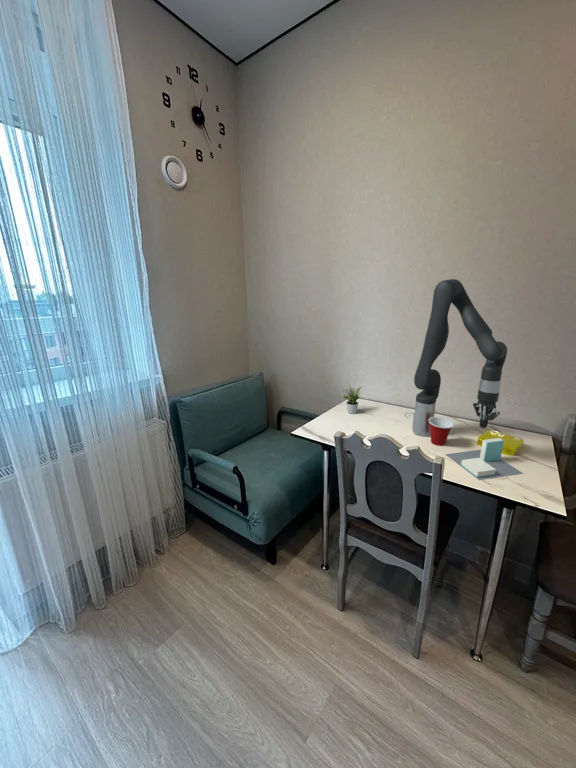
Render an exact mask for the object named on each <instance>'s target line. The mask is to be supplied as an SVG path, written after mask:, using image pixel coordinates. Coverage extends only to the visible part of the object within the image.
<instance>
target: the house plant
mask: <svg viewBox="0 0 576 768" xmlns="http://www.w3.org/2000/svg"><path fill="white" fill-rule="evenodd" d="M362 388H363V386H361V387H359V388H356V389H355V388H354V387H353V388H352V387H351V386H349V388H347V389H345V388H343V391H345V393H347V394H344V393H340V395H341V396H343V397H341V400H343V399H345V400H347V401H346V409H347V414H348V415H356V414H357V412H358V407H359V402H358V401H357V400H359V399H361V400H363V398H360V394H361V391H362Z"/></svg>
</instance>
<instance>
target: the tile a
mask: <svg viewBox="0 0 576 768" xmlns="http://www.w3.org/2000/svg"><path fill="white" fill-rule="evenodd" d="M461 466H463V467H464V468H465V469H466V470H468V471H469V472H470V473H472V474H473V475H474V476H476V477H477V478H478V477H484V476H491V475H495V472H496V469H495V468H493V467H492V466H490V465H489V464H487V463H486V462H484V461H483V460H481V459H480V458H473V459H466V460H462V462H461ZM461 466H460V467H461ZM464 468H463V469H464ZM465 469H464V470H465ZM466 470H465V471H466ZM468 471H467V472H468ZM469 472H468V473H469ZM470 473H469V474H470ZM472 474H471V475H472ZM473 475H472V476H473ZM474 476H473V477H474ZM477 478H476V479H477Z"/></svg>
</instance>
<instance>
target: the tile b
mask: <svg viewBox="0 0 576 768" xmlns="http://www.w3.org/2000/svg"><path fill="white" fill-rule="evenodd" d="M503 444H504V440H502V439H500V438H495V439H488V440H483V442H482V446H481V449H480V450H481V454H480V459H481V460H483V461H484V462H487V461H494V460H500V459H501V458H502V454H503V453H502V449H503Z"/></svg>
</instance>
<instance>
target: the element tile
mask: <svg viewBox="0 0 576 768" xmlns="http://www.w3.org/2000/svg"><path fill="white" fill-rule="evenodd" d="M495 438H500V439H502V440H504V444H503V449H502V454H504V455H506V456H511V457H513V456H515V455H516V454H517V453H518V452H519V451H520V450H522V449H523V446H524V443H525V440H524V438H521V437H517V436H514V435H511V434H507V433H505V432H504V433H503V432H501V431H499V430H498V431H497V430H494V429H488V430H486V431H485V432H483V433H482V434H481V435H479V436H478V438H477V442H476V444H477V445H478V446H479V447H482V442H483V440H488V439H495Z"/></svg>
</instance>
